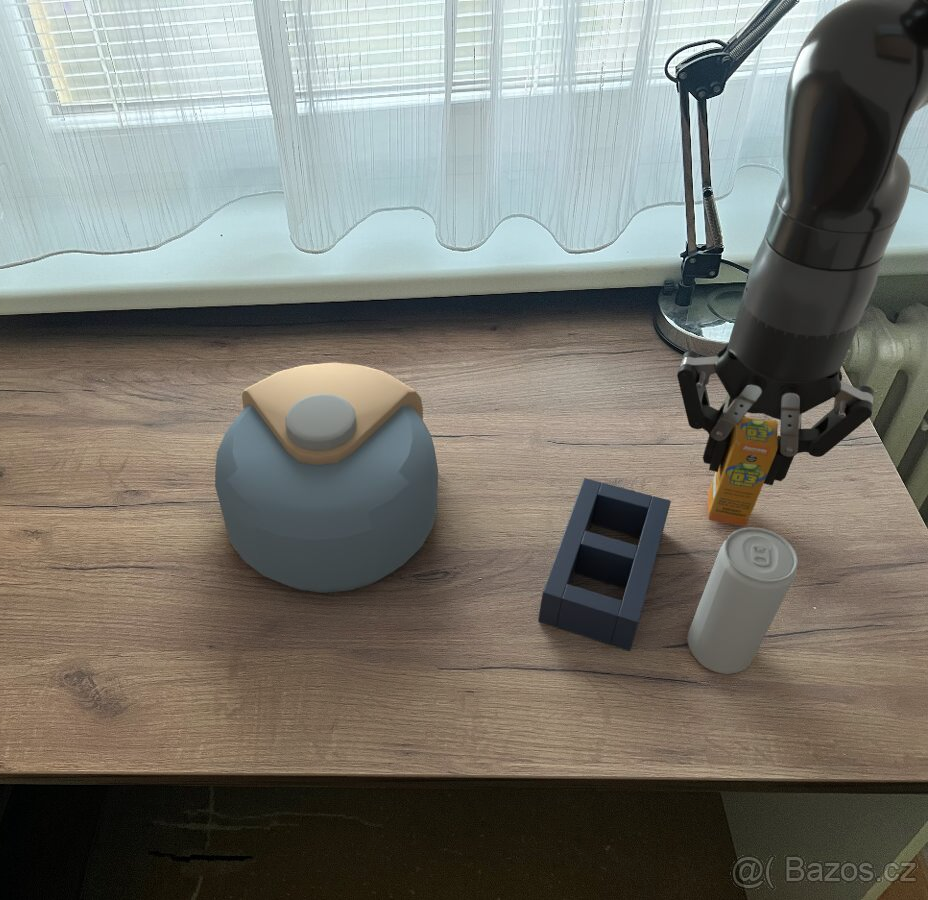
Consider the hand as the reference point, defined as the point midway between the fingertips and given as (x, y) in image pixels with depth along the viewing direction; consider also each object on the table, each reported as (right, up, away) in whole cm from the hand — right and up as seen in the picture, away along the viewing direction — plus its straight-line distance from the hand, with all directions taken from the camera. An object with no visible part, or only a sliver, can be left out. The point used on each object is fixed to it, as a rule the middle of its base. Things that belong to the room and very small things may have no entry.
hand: (741, 470), depth 72 cm
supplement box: (0, -4, +4) cm, 5 cm away
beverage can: (-4, -14, -5) cm, 15 cm away
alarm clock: (-34, -4, +8) cm, 35 cm away
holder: (-11, -9, +1) cm, 14 cm away
